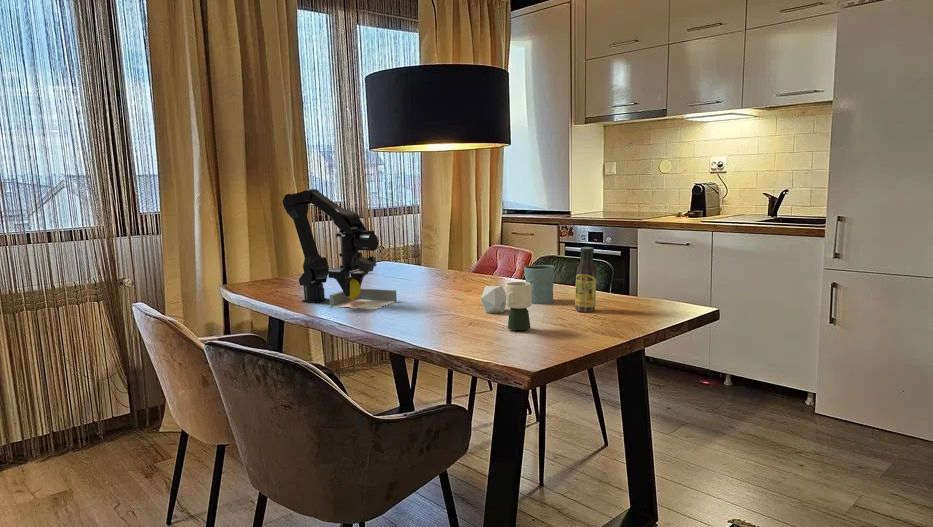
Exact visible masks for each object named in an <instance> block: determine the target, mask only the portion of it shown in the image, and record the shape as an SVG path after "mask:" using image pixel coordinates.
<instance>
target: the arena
mask: <svg viewBox="0 0 933 527" xmlns="http://www.w3.org/2000/svg"><path fill="white" fill-rule="evenodd" d="M397 300H398V299H397V290H395V289H381V288H380V289H379V288H377V289H376V288H361V292H360V295H359V296H358V297H357V298H356V299H355V300H354V301H352V300H351V299H349V298H348V297H346V295H345V294H344V292H343V290H342V291H338V292H336V293H332V294H329V307H330V306H331V307H330V308H342V307H350V308H349V309H357V308H367V309H366V310H372V309H376V310H378V309H377V308H379V309H380V307H381V308H383V307H382V306H384V307H386V306H389V305H392V304H394V303H396V301H397ZM391 303H392V304H391ZM388 304H389V305H388ZM385 305H386V306H385Z"/></svg>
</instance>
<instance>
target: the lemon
mask: <svg viewBox="0 0 933 527" xmlns="http://www.w3.org/2000/svg"><path fill="white" fill-rule="evenodd" d="M361 289H362V287H360V284H359V282H358V281H357V280H355V279H353V278H352V279H351V281H350V294H349V297H348V298H349V299H351V300H352V301H354V300H355V299H356V298H357V297H358V296H359V295H360V292H361Z"/></svg>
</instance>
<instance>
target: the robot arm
mask: <svg viewBox="0 0 933 527" xmlns="http://www.w3.org/2000/svg"><path fill="white" fill-rule="evenodd" d="M310 204H312V205H314V207H316V208H317V209H319V210H320V211H321V212H323V213H324V214H326V215H327V216H329V217H330V218H331V220H332V221H333V224H334V225H335V226H336V227H337V228H338V229H339V231H338V232H337V233H336V234H335V237H338V238H340V241H341V242H340V243H341V253H339V255H338V256H339V257H341V261H342V262H341V263H342V264H341V265H339V267H336V268H330V266H329V264H328V260H327V257H325V256H324V257H322V256H321V255H320V253H319V251H318V248H317V244H316V241H315V238H314V235H313V232H312V228H311V224H310V222H309V221H310V220H309V218H308V213H309V209H310V206H309V205H310ZM282 205H283V207H284V210H285V213H286V214H288V217H290V218H291V219H292V220H293V223H294V227H295V229H296V230H295V231H296V233H297V236H298V241H299V243H300V244H299V245H300V248H301V249H302V253H303V257H304V260H303V265H302V269H303V272H302V274H301V275H300V277H299V279H298V283H299V285H300V286H303V296H304V299H302V300H301V303H302V302H303V303H318V302H322V301H326V300H328V298H326V297H325V295H326V294H325V288H324V283H327V279H328V278H329V279H334V280H336V282H337V283H338V284H339V287H340V288H341V289H342V291H343V292H344V294H345V295H346V297H349V294H350V281H351V279H352V278H353V279H355V280H357V281H358V282H359V284H360V288H362V283H363V279H364V277H365V276H367V275H368V274H369V273H370V272H373V271H374V267H376V266H377V259H376V257H375V256H373V255H371V256H369V257H363V253H362V251H364V252H365V251H366V252H374V251H376V250H377V249H378V247H379V238H378V236H377V234H375V231H374V230H372V229H371V230H367V229H366V226H365V225H364V223H363V221H362V220H361V219H360V214H358V213H357V212H355V211H353V210H350V209H347V208H343V207H341V206H340V205H338V204H337V203H335V202H334V201H332V200H331V199H329V197H327V196H325V195H324V194H323V193H321V192H320V190H319V189H317V188H307V189H305V190H303V191H300V192H296V193H286V194H285V195H284V197H283V199H282Z"/></svg>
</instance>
